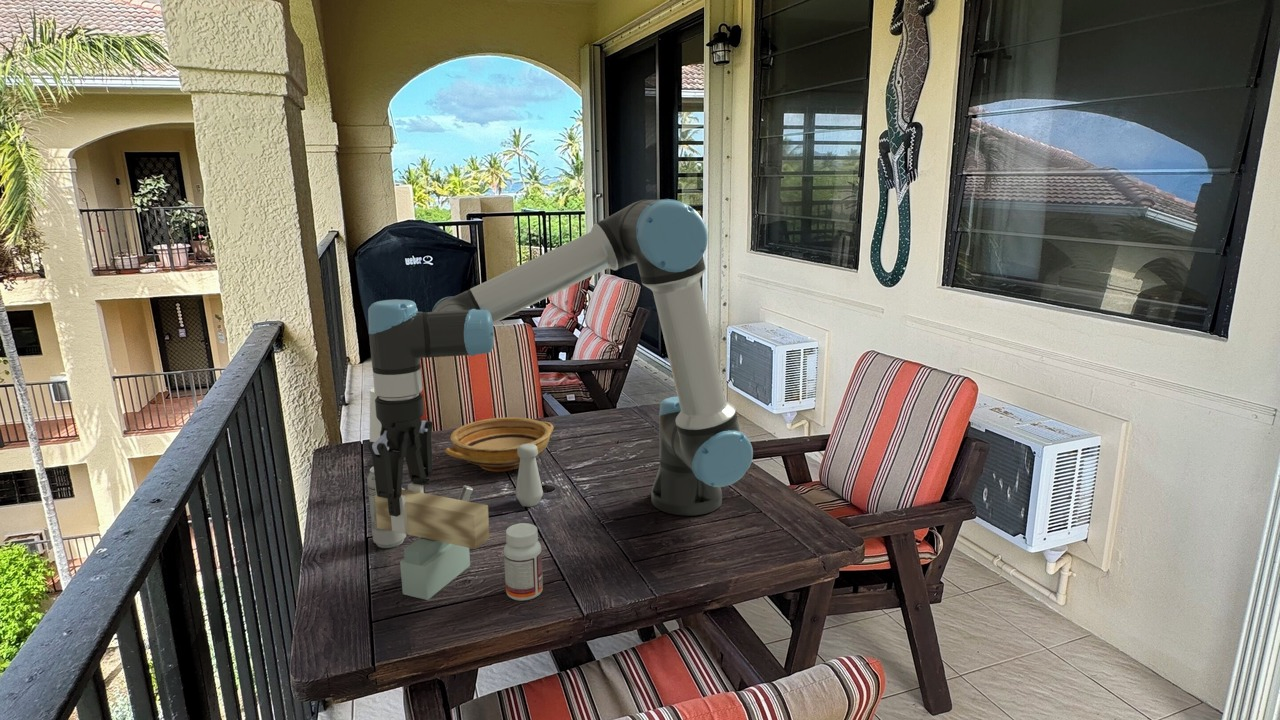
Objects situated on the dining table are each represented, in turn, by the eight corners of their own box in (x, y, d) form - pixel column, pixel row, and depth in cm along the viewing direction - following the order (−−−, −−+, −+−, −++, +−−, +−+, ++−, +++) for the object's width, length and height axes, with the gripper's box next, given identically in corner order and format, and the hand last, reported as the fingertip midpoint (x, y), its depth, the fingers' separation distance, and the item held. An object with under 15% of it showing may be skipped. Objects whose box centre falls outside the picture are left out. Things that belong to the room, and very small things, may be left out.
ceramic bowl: (477, 494, 159) (475, 460, 157) (423, 465, 176) (421, 434, 174) (581, 460, 179) (580, 429, 177) (523, 437, 196) (522, 408, 194)
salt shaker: (538, 509, 151) (535, 451, 148) (512, 507, 152) (509, 449, 149) (547, 498, 157) (544, 441, 154) (522, 496, 158) (519, 440, 155)
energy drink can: (412, 541, 138) (406, 467, 135) (383, 552, 134) (376, 477, 130) (396, 531, 142) (389, 459, 139) (367, 542, 138) (360, 468, 134)
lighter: (440, 532, 141) (437, 494, 140) (437, 529, 143) (434, 492, 141) (475, 523, 145) (472, 486, 143) (471, 520, 147) (469, 483, 145)
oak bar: (489, 538, 121) (487, 505, 119) (475, 549, 117) (473, 514, 116) (392, 518, 128) (390, 486, 127) (377, 527, 124) (374, 495, 123)
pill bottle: (527, 578, 125) (524, 517, 122) (550, 591, 121) (548, 529, 118) (498, 592, 120) (494, 530, 118) (521, 606, 116) (518, 542, 114)
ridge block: (470, 565, 129) (467, 522, 127) (427, 600, 118) (423, 553, 116) (446, 560, 131) (443, 517, 129) (402, 594, 120) (398, 548, 118)
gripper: (414, 380, 128) (423, 502, 133) (342, 406, 112) (356, 543, 118) (449, 384, 125) (457, 509, 131) (381, 411, 110) (393, 551, 115)
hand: (409, 525), depth 124 cm, fingers closed on oak bar, 4 cm apart
